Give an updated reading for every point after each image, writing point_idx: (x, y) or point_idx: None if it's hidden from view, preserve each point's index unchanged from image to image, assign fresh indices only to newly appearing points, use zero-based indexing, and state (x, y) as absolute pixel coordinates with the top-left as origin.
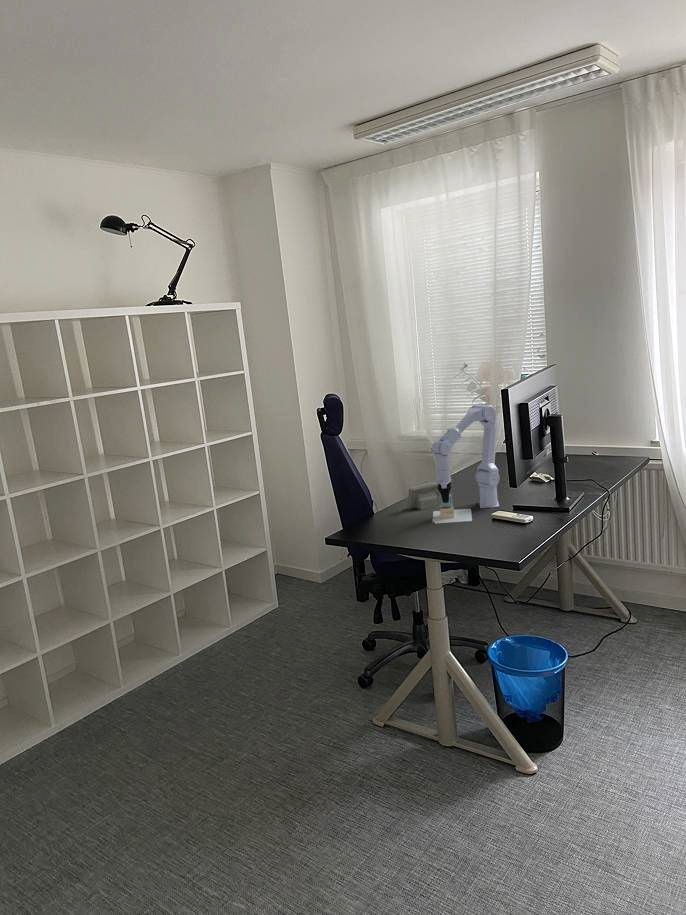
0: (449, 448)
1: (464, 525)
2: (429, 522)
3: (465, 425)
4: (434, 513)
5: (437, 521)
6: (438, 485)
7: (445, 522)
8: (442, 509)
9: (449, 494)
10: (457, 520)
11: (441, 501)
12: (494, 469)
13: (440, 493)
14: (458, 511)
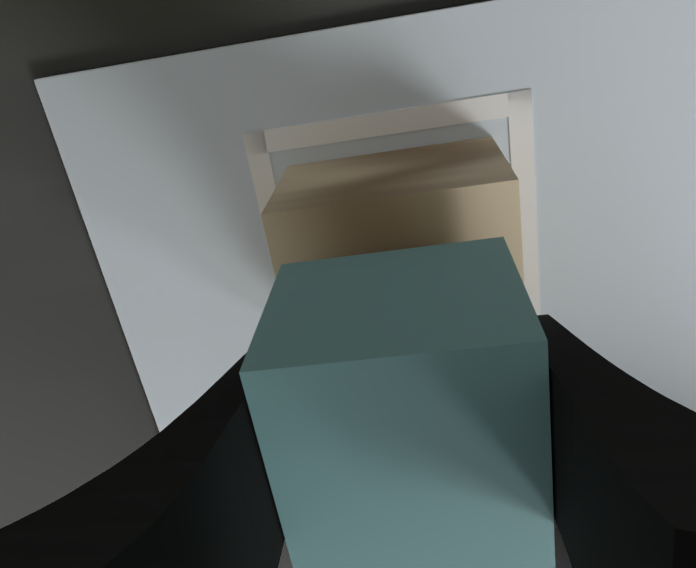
0: None
1: (64, 459)
2: (140, 5)
3: None
4: (601, 7)
5: (141, 143)
6: (658, 518)
7: (106, 261)
8: (271, 260)
9: (464, 538)
10: (201, 389)
11: (266, 323)
12: None
13: (93, 481)
14: (613, 363)
